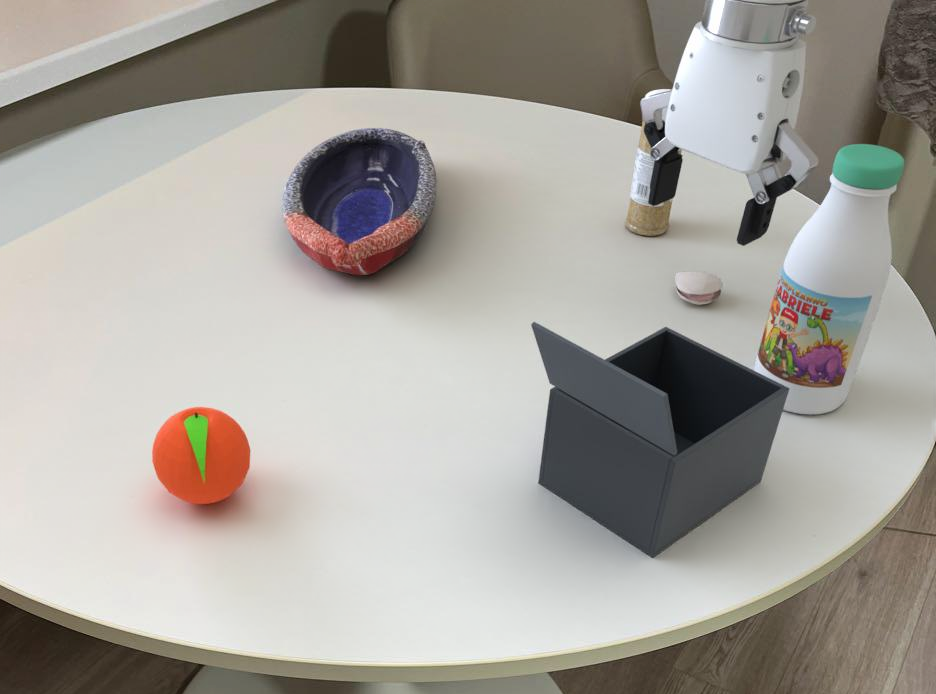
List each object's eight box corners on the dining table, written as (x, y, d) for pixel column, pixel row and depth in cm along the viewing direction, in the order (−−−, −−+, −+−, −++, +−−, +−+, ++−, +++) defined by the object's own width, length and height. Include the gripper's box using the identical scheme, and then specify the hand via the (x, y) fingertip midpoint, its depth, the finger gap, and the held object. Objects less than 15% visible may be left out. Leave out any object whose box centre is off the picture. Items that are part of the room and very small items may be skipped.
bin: (652, 558, 73) (675, 462, 67) (537, 483, 79) (549, 389, 73) (760, 481, 79) (789, 388, 73) (646, 417, 85) (665, 326, 79)
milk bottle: (780, 355, 92) (848, 124, 79) (862, 391, 88) (949, 155, 74) (732, 389, 88) (794, 153, 74) (816, 429, 84) (898, 187, 70)
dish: (448, 167, 121) (450, 123, 117) (417, 302, 98) (418, 252, 95) (315, 159, 122) (313, 115, 119) (254, 289, 100) (249, 240, 96)
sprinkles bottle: (676, 227, 110) (703, 96, 101) (650, 241, 108) (675, 108, 98) (640, 213, 112) (663, 83, 103) (614, 227, 110) (635, 95, 101)
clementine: (261, 526, 75) (253, 446, 70) (162, 540, 74) (147, 459, 69) (249, 458, 81) (240, 380, 76) (157, 469, 79) (142, 391, 75)
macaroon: (692, 314, 97) (698, 289, 95) (657, 290, 100) (661, 266, 98) (727, 302, 99) (733, 278, 97) (691, 279, 102) (696, 255, 100)
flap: (677, 452, 67) (674, 456, 67) (552, 380, 73) (549, 383, 73) (667, 393, 62) (664, 397, 61) (533, 321, 67) (530, 324, 67)
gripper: (877, 35, 80) (811, 243, 92) (692, -19, 89) (654, 176, 101) (822, 55, 76) (761, 270, 88) (635, -3, 86) (602, 198, 97)
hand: (704, 220), depth 94 cm, fingers open, 9 cm apart
